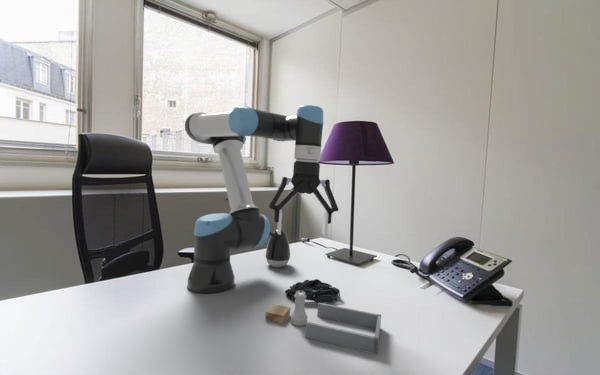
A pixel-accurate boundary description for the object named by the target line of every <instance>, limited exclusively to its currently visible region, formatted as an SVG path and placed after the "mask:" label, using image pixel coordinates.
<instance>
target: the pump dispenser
mask: <svg viewBox="0 0 600 375" xmlns="http://www.w3.org/2000/svg"><path fill="white" fill-rule="evenodd" d="M269 236H270V237H269V238H268V242H267V246H266V249H265V259H266V262H267V264H268V265H269V266H270V267H272V268H283V267H286V266H287V264H288V263H289V261H290V259H291V249H290V248H291V247H290V243H289V242H290V241H289V239H288V236H287V233H286V232H285V231H284V230H283V229H281V234H278V233H277V229H275V230H273V232H271V231H270V233H269Z"/></svg>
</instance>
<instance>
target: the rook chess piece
mask: <svg viewBox="0 0 600 375" xmlns="http://www.w3.org/2000/svg"><path fill="white" fill-rule="evenodd" d="M303 292H304V291H302V292H300V291H296V294H295V295H294V297H295V298H296V300H295V299H294V305H295V306H294V310H293V311H292V314H290V322H291V324H292V325H294V326H295V327H296V326H297V327H303V326H306V322H308V315H307V313H306V308H305V303H306V300H305V298H306V297H307V296H306V295H305V292H304V293H303Z"/></svg>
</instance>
